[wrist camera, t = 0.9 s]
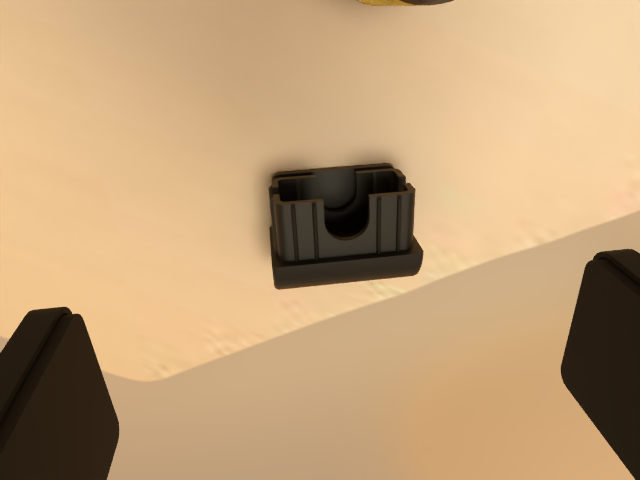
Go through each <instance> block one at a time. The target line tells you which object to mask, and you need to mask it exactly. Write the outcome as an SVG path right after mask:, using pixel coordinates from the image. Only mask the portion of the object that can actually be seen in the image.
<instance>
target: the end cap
mask: <svg viewBox="0 0 640 480" xmlns="http://www.w3.org/2000/svg"><path fill="white" fill-rule="evenodd" d="M269 196H270V209H271V219H272V227H270V242H271V257H272V270H273V279H274V285H275V288H276V289H279V290H280V289H289V288H299V287H309V286H318V285H328V284H338V283H348V282H357V281H367V280H377V279H387V278H396V277H406V276H414V275H416V274H417V273H418V272H419V270H420V268H421V265H422V260H423V250H422V248H421V246H420V245H419V243H418V242H417V240H416V239H415V237H414V235H413V226H414V205H415V188H414V187H413V186H412V185H411V184H410V183H406V177H405V176H404V175H403V174H402V172H401V171H400V170H398V169H394V168H393V166H392V165H391V164H388V163H382V164H370V165H358V166H346V167H334V168H322V169H309V170H297V171H285V172H277V173H275V174H274V175H273V176H272V185H271V186H270V187H269Z"/></svg>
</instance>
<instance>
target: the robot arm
mask: <svg viewBox="0 0 640 480" xmlns="http://www.w3.org/2000/svg"><path fill="white" fill-rule="evenodd" d="M561 375H562V379H563V382H564V384H565V386H566V387H567V389H568V390H569V391H570V393H571V394H572V395H573V396H574V398H575V399H576V401H577V402H578V403H579V405H580V406H581V407H582V408H583V410H584V411H585V413H586V414H587V415H588V417H589V418H590V419H591V421H592V422H593V423H594V425H595V426H596V427H597V429H598V430H599V431H600V433H601V434H602V435H603V437H604V438H605V439H606V441H607V442H608V443H609V445H610V446H611V447H612V449H613V450H614V451H615V453H616V454H617V455H618V457H619V458H620V460H621V461H622V462H623V464H624V465H625V466H626V468H627V469H628V470H629V471H630V473H631V474H632V476H633V477H634V478H635V480H640V254H639V253H638V252H636V251H635V250H632V249H623V250H613V251H604V252H599V253H597V254H596V255H595V256H594V258H593V260H591V261H589V262H588V263H587V264H586V267H585V270H584V274H583V278H582V283H581V287H580V290H579V295H578V299H577V303H576V307H575V311H574V315H573V319H572V323H571V327H570V332H569V336H568V340H567V344H566V348H565V352H564V356H563V360H562V364H561ZM118 438H119V422H118V419H117V416H116V413H115V410H114V407H113V404H112V401H111V398H110V395H109V393H108V389H107V387H106V384H105V381H104V378H103V375H102V372H101V369H100V366H99V363H98V360H97V358H96V355H95V352H94V349H93V346H92V343H91V340H90V337H89V334H88V331H87V329H86V326H85V323H84V320H83V318H82V316H81V315H80V314H72V312H71V311H70V309H69V308H67V307H57V308H48V309H38V310H32V311H29V312H28V313H27V314H26V316H25V317H24V319H23V320H22V322H21V323H20V325H19V326H18V328H17V329H16V331H15V332H14V333H13V335H12V336H11V338H10V339H9V341H8V342H7V344H6V345H5V347H4V349H3V350H2V352H1V353H0V480H107V477H108V473H109V470H110V466H111V463H112V460H113V456H114V453H115V449H116V446H117V443H118Z"/></svg>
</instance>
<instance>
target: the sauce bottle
mask: <svg viewBox="0 0 640 480" xmlns="http://www.w3.org/2000/svg"><path fill="white" fill-rule="evenodd" d="M358 1H360V2H362V3H364V4H368V5H375V6H416V5H436V4H442V3H446V2H450V1H453V0H358Z"/></svg>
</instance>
